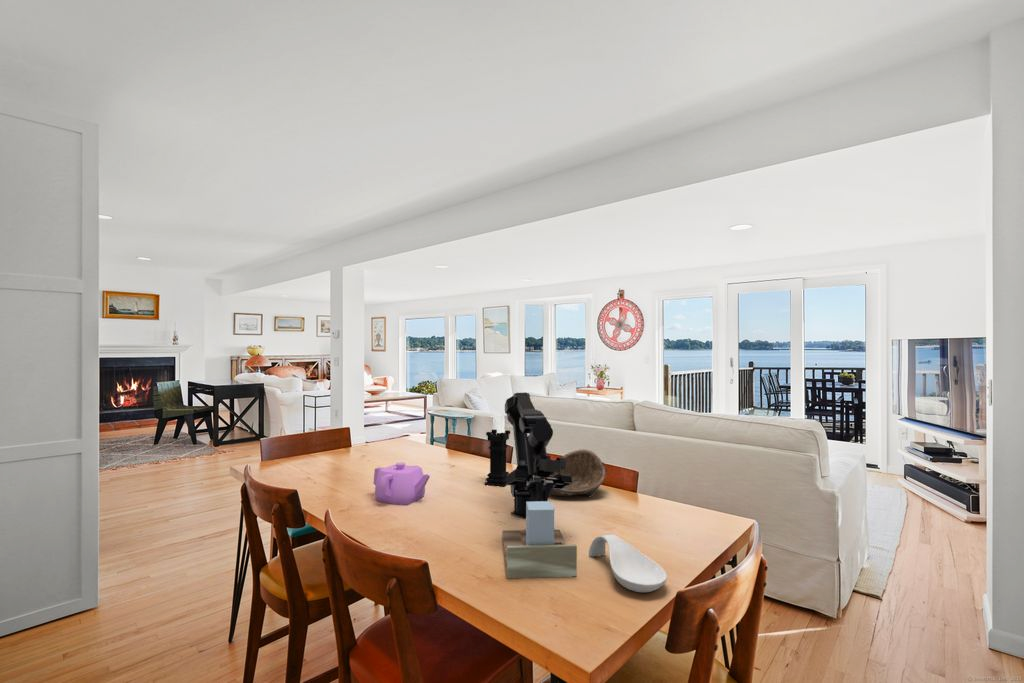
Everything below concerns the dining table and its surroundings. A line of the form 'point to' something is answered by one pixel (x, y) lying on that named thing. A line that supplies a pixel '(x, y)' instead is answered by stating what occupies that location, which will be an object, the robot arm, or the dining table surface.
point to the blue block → (539, 523)
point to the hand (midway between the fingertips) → (543, 511)
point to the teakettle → (399, 484)
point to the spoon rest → (629, 564)
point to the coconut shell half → (581, 473)
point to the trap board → (538, 557)
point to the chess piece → (497, 458)
